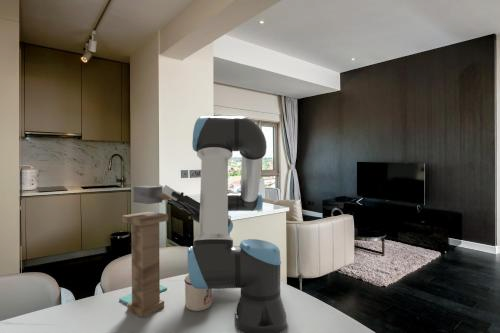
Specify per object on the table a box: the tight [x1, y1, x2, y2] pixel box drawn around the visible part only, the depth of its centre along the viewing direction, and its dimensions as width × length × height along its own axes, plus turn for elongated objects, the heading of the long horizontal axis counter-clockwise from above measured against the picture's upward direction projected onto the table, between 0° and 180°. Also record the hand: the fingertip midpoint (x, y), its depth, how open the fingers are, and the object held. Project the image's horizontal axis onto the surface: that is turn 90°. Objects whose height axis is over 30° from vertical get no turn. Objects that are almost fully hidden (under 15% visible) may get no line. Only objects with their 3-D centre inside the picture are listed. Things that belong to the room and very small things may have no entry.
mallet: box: [132, 185, 181, 205], centre depth 99 cm, size 15×8×5 cm, turn 144°
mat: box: [119, 284, 168, 305], centre depth 105 cm, size 6×15×1 cm, turn 144°
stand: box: [121, 211, 169, 318], centre depth 95 cm, size 10×10×30 cm
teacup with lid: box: [184, 274, 213, 312], centre depth 99 cm, size 12×9×12 cm
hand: (161, 188), depth 100 cm, fingers closed on mallet, 2 cm apart
